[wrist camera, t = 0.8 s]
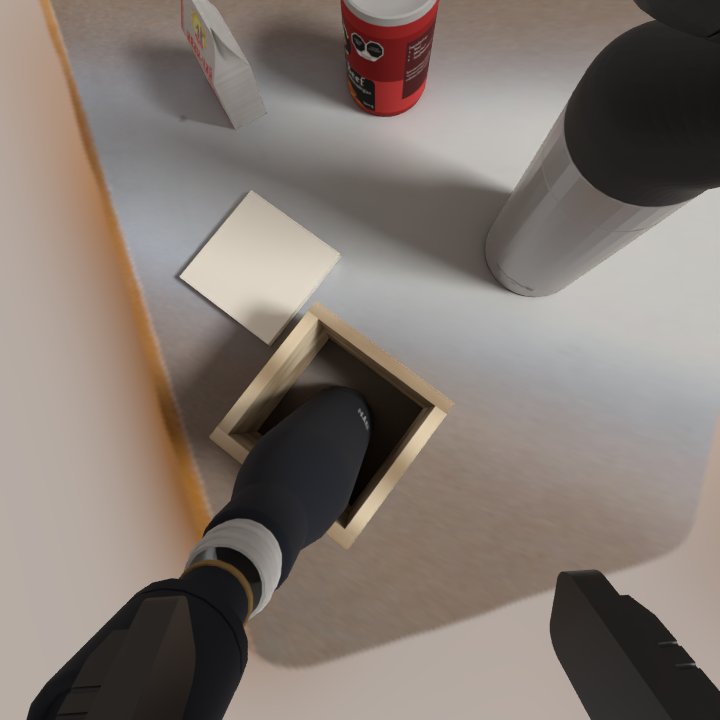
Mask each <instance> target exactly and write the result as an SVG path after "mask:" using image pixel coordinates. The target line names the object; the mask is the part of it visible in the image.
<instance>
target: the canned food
mask: <svg viewBox="0 0 720 720" xmlns="http://www.w3.org/2000/svg"><path fill="white" fill-rule="evenodd" d="M438 3H439V0H341V12H342V23H343V35H344V47H345V58H346V70H347V81H348V87H349V90H350V92H351V94H352V96H353V98H354V100H355V101H356V103H357V104H358V105H359V106H360V107H361V108H362V109H363V110H365V111H367V112H369V113H371V114H374V115H378V116H394V115H398V114H401V113H404V112H406V111H407V110H409V109H410V108H411V107H413V106H414V105H415V104H416V102H417V101H418V100H419V98H420V96H421V95H422V93H423V91H424V88H425V84H426V79H427V72H428V66H429V60H430V54H431V47H432V41H433V35H434V28H435V22H436V16H437V10H438Z"/></svg>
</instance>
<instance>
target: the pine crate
mask: <svg viewBox="0 0 720 720" xmlns="http://www.w3.org/2000/svg"><path fill="white" fill-rule="evenodd" d="M329 338H330V339H331V340H332V341H334V342H335V343H336V344H338V345H339V346H340V347H342V348H343V349H344V350H346V351H347V352H349V353H350V354H351V355H353V356H354V357H355V358H357V359H358V360H359V361H361V362H362V363H363V364H365V365H366V366H367V367H369V368H370V369H371V370H373V371H374V372H375V373H377V374H378V375H379V376H381V377H382V378H383V379H385V380H386V381H387V382H389V383H390V384H391V385H393V386H394V387H395V388H397V389H398V390H399V391H401V392H402V393H403V394H405V395H406V396H407V397H409V398H410V399H411V400H413V401H414V402H415V403H417V404H418V405H419V406H421V407H422V408H423V409H422V411H421V412H420V414H419V415H418V416H417V418H416V419H415V420H414V422H413V423H412V424H411V426H410V427H409V428H408V430H407V431H406V433H405V434H404V435H403V437H402V438H401V439H400V441H399V442H398V443H397V445H396V446H395V447H394V449H393V450H392V452H391V453H390V454H389V456H388V457H387V458H386V460H385V461H384V462H383V464H382V465H381V466H380V468H379V469H378V471H377V472H376V473H375V475H374V476H373V477H372V479H371V480H370V481H369V483H368V484H367V485H366V487H365V488H364V490H363V491H362V492H361V494H360V495H359V496H358V498H357V499H356V500H355V502H354V503H353V504H352V506H350V505H349V504H348V505H347V507H346V509H345V510H344V511H343V513H342V514H341V515H340V516H339V518H338V519H337V520H336V521H335V522H334V524H333V525H332V526H331V527H330V529H329V530H328V531H327V532H326V533H327V534H328V535H329V536H331V537H332V538H333V539H334V540H336V541H337V542H338V543H339V544H341V545H342V546H343V547H344V548H345V549H347V550H348V549H349V547H350V546H351V545H352V543H353V542H354V541H355V539H356V538H357V536H358V535H359V534H360V532H361V531H362V530H363V528H364V527H365V525H366V524H367V523H368V521H369V520H370V519H371V517H372V516H373V515H374V513H375V512H376V510H377V509H378V508H379V506H380V505H381V504H382V502H383V501H384V499H385V498H386V497H387V495H388V494H389V493H390V491H391V490H392V488H393V487H394V486H395V484H396V483H397V482H398V480H399V479H400V478H401V476H402V475H403V473H404V472H405V471H406V469H407V468H408V467H409V465H410V464H411V462H412V461H413V460H414V458H415V457H416V456H417V454H418V453H419V451H420V450H421V449H422V447H423V446H424V445H425V443H426V442H427V441H428V439H429V438H430V436H431V435H432V434H433V432H434V431H435V430H436V428H437V427H438V425H439V424H440V423H441V421H442V420H443V419H444V417H445V416H446V414H447V413H448V412H449V410H450V409H451V408H452V406H453V405H454V404H455V403H454V402H452V401H451V400H450V399H448V398H447V397H445V396H444V395H443V394H441V393H440V392H439V391H437V390H436V389H435V388H433V387H432V386H431V385H429V384H428V383H427V382H425V381H424V380H422V379H421V378H420V377H418V376H417V375H416V374H414V373H413V372H412V371H410V370H409V369H408V368H406V367H405V366H404V365H402V364H401V363H399V362H398V361H397V360H395V359H394V358H393V357H391V356H390V355H389V354H387V353H386V352H385V351H383V350H382V349H381V348H379V347H378V346H376V345H375V344H374V343H372V342H371V341H370V340H368V339H367V338H366V337H364V336H363V335H362V334H360V333H359V332H358V331H356V330H355V329H353V328H352V327H351V326H349V325H348V324H347V323H345V322H344V321H343V320H341V319H340V318H339V317H337V316H336V315H335V314H333V313H332V312H330V311H329V310H328V309H326V308H325V307H324V306H322V305H321V304H320V303H318V302H317V301H316V302H315V303H314V304H313V305H312V307H311V308H310V309H309V310H308V312H307V313H306V314H305V316H304V317H303V318H302V319H301V321H300V322H299V323H298V324H297V326H296V327H295V328H294V330H293V331H292V332H291V333H290V335H289V336H288V337H287V338H286V340H285V341H284V342H283V343H282V345H281V346H280V347H279V349H278V350H277V351H276V352H275V354H274V355H273V356H272V357H271V359H270V360H269V361H268V363H267V364H266V365H265V366H264V368H263V369H262V370H261V371H260V373H259V374H258V375H257V377H256V378H255V379H254V380H253V382H252V383H251V384H250V385H249V387H248V388H247V389H246V391H245V392H244V393H243V394H242V396H241V397H240V398H239V399H238V401H237V402H236V403H235V405H234V406H233V407H232V408H231V410H230V411H229V412H228V413H227V415H226V416H225V417H224V419H223V420H222V421H221V422H220V424H219V425H218V426H217V427H216V429H215V430H214V431H213V432H212V434H211V435H210V436H209V438H210V439H211V440H213V441H214V442H215V443H216V444H217V445H219V446H220V447H221V448H222V449H224V450H225V451H226V452H227V453H229V454H230V455H231V456H232V457H233V458H235V459H236V460H237V461H238V462H240V463H241V464H243V462H244V460H245V459H246V457H247V455H248V454H249V452H250V451H251V449H252V448H253V447H254V445H255V444H256V443H257V441H258V440H259V439H260V438H261V437H262V435H261V434H260V433H258V432H257V431H258V430H259V428H260V427H261V426H262V424H263V423H264V422H265V420H266V419H267V418H268V417H269V415H270V414H271V413H272V411H273V410H274V409H275V408H276V406H277V405H278V404H279V402H280V401H281V400H282V399H283V397H284V396H285V395H286V393H287V392H288V391H289V390H290V388H291V387H292V386H293V384H294V383H295V382H296V381H297V379H298V378H299V377H300V375H301V374H302V373H303V371H304V370H305V369H306V368H307V366H308V365H309V364H310V362H311V361H312V360H313V359H314V357H315V356H316V355H317V353H318V352H319V351H320V350H321V348H322V347H323V346H324V344H325V343H326V342H327V341H328V339H329Z"/></svg>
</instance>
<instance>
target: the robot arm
mask: <svg viewBox="0 0 720 720" xmlns="http://www.w3.org/2000/svg"><path fill="white" fill-rule="evenodd" d="M634 2H635V3H636V4H637V6H638V7H639V8H640V9H642V10H643V11H644V12H646V13H647V14H649V15H650V16H651V17H653V18H654V19H656V20H653V21H650V22H647V23H644V24H642V25H639V26H637V27H634V28H632V29H630V30H629V31H627V32H625V33H623V34H622V35H620V36H619V37H617V38H616V39H614V40H613V41H612V42H611V43H610V44H609V45H607V46H606V47H605V48H604V49H603V50H602V51H601V52H600V53H599V55H598V56H597V57H596V58H595V59H594V61H593V62H592V63H591V65H590V66H589V68H588V69H587V70H586V72H585V74H584V75H583V77H582V79H581V80H580V82H579V84H578V85H577V87H576V88H575V90H574V92H573V93H572V95H571V97H570V99H569V101H568V102H567V104H566V105H565V107H564V109H563V110H562V112H561V114H560V115H559V117H558V119H557V120H556V122H555V124H554V125H553V127H552V129H551V130H550V132H549V134H548V135H547V137H546V139H545V140H544V142H543V144H542V145H541V147H540V148H539V150H538V152H537V153H536V155H535V157H534V158H533V160H532V161H531V163H530V165H529V166H528V168H527V170H526V171H525V173H524V174H523V176H522V178H521V179H520V181H519V183H518V184H517V186H516V187H515V189H514V191H513V192H512V194H511V196H510V197H509V199H508V200H507V202H506V204H505V205H504V207H503V208H502V210H501V212H500V213H499V215H498V217H497V218H496V220H495V221H494V223H493V225H492V226H491V228H490V230H489V233H488V235H487V239H486V243H485V255H486V260H487V264H488V266H489V268H490V270H491V272H492V274H493V275H494V276H495V278H496V279H497V280H498V281H499V282H500V283H501V284H502V285H503V286H505V287H506V288H507V289H509V290H511V291H513V292H515V293H518V294H521V295H524V296H531V297H540V296H547V295H550V294H553V293H556V292H558V291H560V290H561V289H563V288H565V287H566V286H568V285H569V284H571V283H572V282H574V281H575V280H576V279H578V278H579V277H581V276H583V275H584V274H586V273H587V272H588V271H590V270H591V269H593V268H594V267H596V266H597V265H599V264H600V263H601V262H603V261H604V260H606V259H607V258H609V257H610V256H612V255H613V254H614V253H616V252H617V251H619V250H620V249H622V248H623V247H625V246H626V245H627V244H629V243H630V242H632V241H633V240H635V239H636V238H638V237H639V236H640V235H642V234H643V233H645V232H646V231H648V230H649V229H651V228H652V227H653V226H655V225H656V224H658V223H659V222H661V221H662V220H664V219H665V218H666V217H668V216H669V215H671V214H672V213H673V212H675V211H676V210H678V209H679V208H681V207H682V206H684V205H685V204H686V203H688V202H689V201H691V200H692V199H694V198H695V197H697V196H698V195H700V194H701V193H703V192H704V191H706V190H707V189H712V188H717V187H720V0H634ZM550 635H551V640H552V644H553V647H554V650H555V653H556V655H557V657H558V659H559V661H560V663H561V665H562V667H563V669H564V670H565V672H566V674H567V676H568V678H569V680H570V681H571V683H572V685H573V687H574V689H575V691H576V693H577V694H578V697H579V698H580V700H581V702H582V704H583V706H584V708H585V710H586V711H587V713H588V715H589V717H590V719H591V720H720V691H719V690H718V689H717V687H716V686H715V685H714V684H713V683H712V682H711V680H710V679H709V678H708V677H707V676H706V674H705V673H704V672H703V671H702V670H701V669H700V668H697V667H696V665H695V661H694V660H693V659H692V658H691V657H690V656H689V654H688V653H687V652H686V651H685V650H684V648H683V647H682V646H679V645H678V644H677V640H676V639H675V638H674V637H673V636H672V634H671V633H670V632H669V631H668V630H667V628H666V627H665V626H664V625H663V624H662V623H661V622H660V620H659V619H658V618H657V617H656V616H655V615H654V614H653V613H652V612H650V611H649V610H648V609H646V608H645V607H644V606H642V605H641V604H639V603H638V602H637V601H636V600H634V599H633V598H631V597H630V596H629V595H619V594H618V592H617V591H616V590H615V589H614V587H613V586H612V585H611V584H610V582H609V581H608V580H607V579H606V577H605V576H604V575H603V574H602V573H601V572H599V571H598V570H581V571H566V572H561V573H560V574H559V575H558V578H557V584H556V590H555V596H554V602H553V607H552V614H551V619H550ZM195 660H196V652H195V644H194V638H193V632H192V626H191V619H190V613H189V607H188V602H187V598H186V597H185V596H172V597H157V598H147V599H145V600H144V601H143V602H142V604H141V606H140V607H139V610H138V612H137V614H136V616H135V618H134V620H133V622H132V624H131V626H130V628H129V629H125V630H113V631H112V632H111V633H110V634H109V635H108V636H107V638H106V639H105V640H104V641H103V642H102V643H101V644H100V645H99V646H98V647H97V648H96V649H95V650H94V651H93V652H92V653H91V654H90V655H89V656H88V658H87V660H86V662H85V664H84V665H83V667H82V669H81V671H80V673H79V674H78V676H77V678H76V680H75V682H74V684H73V685H72V687H71V692H70V694H67V696H66V698H65V700H64V702H63V704H62V705H61V707H60V709H59V711H58V713H57V717H56V720H182V717H183V714H184V710H185V707H186V703H187V700H188V697H189V693H190V690H191V686H192V682H193V677H194V671H195Z"/></svg>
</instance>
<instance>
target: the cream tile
mask: <svg viewBox="0 0 720 720" xmlns="http://www.w3.org/2000/svg"><path fill="white" fill-rule="evenodd" d="M340 258H341V256H340V253H338V252H337V251H336V250H334V249H333V248H332V247H330V246H329V245H327V244H326V243H325V242H323V241H322V240H320V239H319V238H318V237H316V236H315V235H313V234H312V233H311V232H309V231H308V230H306V229H305V228H304V227H302V226H301V225H299V224H298V223H297V222H295V221H294V220H293V219H291V218H290V217H288V216H287V215H286V214H284V213H283V212H281V211H280V210H279V209H277V208H276V207H274V206H273V205H272V204H270V203H269V202H267V201H266V200H265V199H263V198H262V197H260V196H259V195H258V194H256V193H255V192H254V191H252V190H251V191H250V192H249V193H248V194H247V196H246V197H245V198H244V199H243V200H242V202H241V203H240V204H239V205H238V207H237V208H236V209H235V210H234V211H233V213H232V214H231V215H230V216H229V217H228V219H227V220H226V221H225V222H224V223H223V225H222V226H221V227H220V228H219V229H218V231H217V232H216V233H215V234H214V236H213V237H212V238H211V239H210V240H209V242H208V243H207V244H206V245H205V246H204V248H203V249H202V250H201V251H200V252H199V254H198V255H197V256H196V257H195V258H194V260H193V261H192V262H191V263H190V265H189V266H188V267H187V268H186V269H185V271H184V272H183V273H182V274H181V275H180V278H182V279H183V280H184V281H185V282H187V283H188V284H189V285H191V286H192V287H193V288H195V289H196V290H197V291H199V292H200V293H201V294H202V295H204V296H205V297H206V298H208V299H209V300H210V301H212V302H213V303H214V304H216V305H217V306H218V307H219V308H221V309H222V310H223V311H225V312H226V313H227V314H229V315H230V316H231V317H233V318H234V319H235V320H236V321H238V322H239V323H240V324H242V325H243V326H244V327H246V328H247V329H248V330H250V331H251V332H252V333H253V334H255V335H256V336H257V337H259V338H260V339H261V340H263V341H264V342H265V343H267V344H268V345H269V346H271V345H272V344H273V343H274V342H275V340H276V339H277V338H278V336H279V335H280V334H281V333H282V331H283V330H284V329H285V328H286V326H287V325H288V324H289V323H290V321H291V320H292V319H293V317H294V316H295V315H296V314H297V312H298V311H299V310H300V309H301V307H302V306H303V305H304V304H305V302H306V301H307V300H308V298H309V297H310V296H311V295H312V293H313V292H314V291H315V290H316V288H317V287H318V286H319V285H320V283H321V282H322V281H323V279H324V278H325V277H326V276H327V274H328V273H329V272H330V271H331V269H332V268H333V267H334V266H335V264H336V263H337V262H338V260H339V259H340Z"/></svg>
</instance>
